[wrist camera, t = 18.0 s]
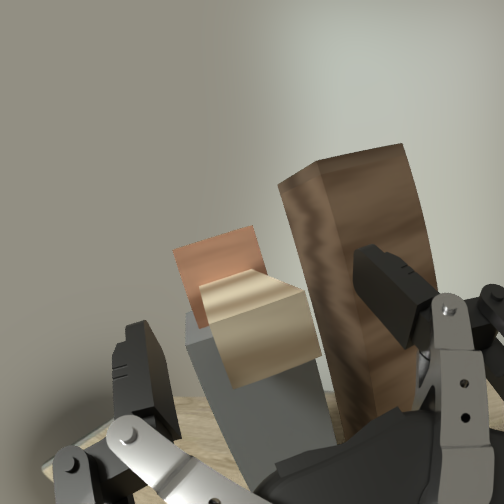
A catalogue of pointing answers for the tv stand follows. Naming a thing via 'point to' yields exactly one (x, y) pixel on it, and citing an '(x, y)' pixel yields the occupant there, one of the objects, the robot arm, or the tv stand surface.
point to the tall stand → (341, 271)
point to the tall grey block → (261, 409)
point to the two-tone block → (246, 307)
